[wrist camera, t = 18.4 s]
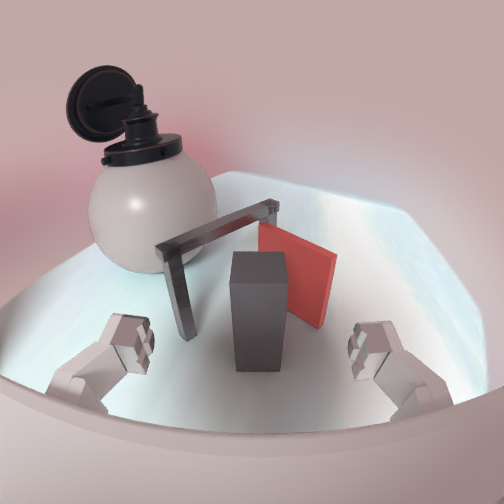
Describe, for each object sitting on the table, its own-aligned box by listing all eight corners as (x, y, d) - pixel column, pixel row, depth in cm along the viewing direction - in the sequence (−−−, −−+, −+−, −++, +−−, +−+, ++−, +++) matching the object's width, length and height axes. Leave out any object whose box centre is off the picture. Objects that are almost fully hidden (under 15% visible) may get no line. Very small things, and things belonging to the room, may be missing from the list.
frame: (268, 280, 41) (270, 198, 35) (275, 284, 40) (279, 201, 34) (176, 335, 32) (154, 245, 26) (183, 343, 31) (161, 252, 25)
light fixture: (146, 322, 34) (94, 33, 16) (82, 258, 46) (46, 77, 28) (245, 255, 47) (242, 38, 29) (163, 218, 59) (148, 61, 41)
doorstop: (236, 371, 28) (229, 283, 22) (238, 339, 32) (233, 251, 26) (279, 371, 28) (288, 283, 22) (277, 339, 32) (284, 251, 25)
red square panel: (258, 291, 39) (258, 224, 33) (263, 287, 39) (264, 221, 34) (318, 328, 32) (331, 258, 27) (322, 324, 33) (337, 254, 28)
